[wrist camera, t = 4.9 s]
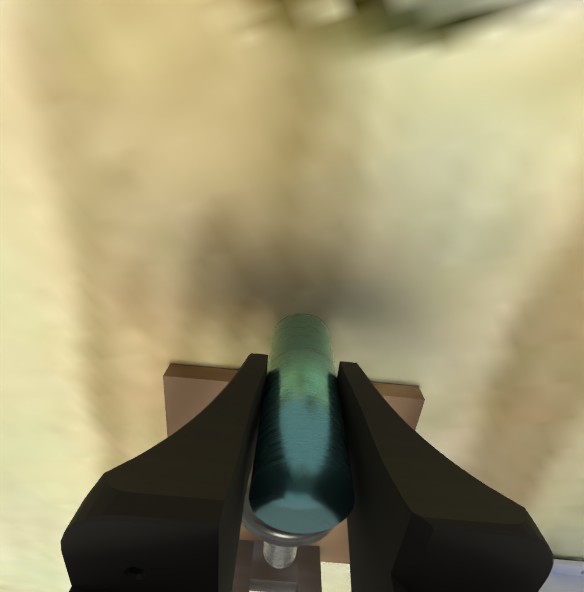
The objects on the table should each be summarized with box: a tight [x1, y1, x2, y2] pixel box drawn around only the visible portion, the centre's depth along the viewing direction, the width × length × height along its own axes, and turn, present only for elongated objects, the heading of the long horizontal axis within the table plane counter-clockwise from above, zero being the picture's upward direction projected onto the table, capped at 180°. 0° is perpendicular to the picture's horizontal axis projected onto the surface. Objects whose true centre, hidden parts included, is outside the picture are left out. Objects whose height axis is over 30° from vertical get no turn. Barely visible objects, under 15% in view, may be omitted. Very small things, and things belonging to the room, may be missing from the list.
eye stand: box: [163, 364, 425, 592], centre depth 17 cm, size 13×14×7 cm
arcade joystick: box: [241, 314, 355, 569], centre depth 14 cm, size 5×11×8 cm, turn 175°
